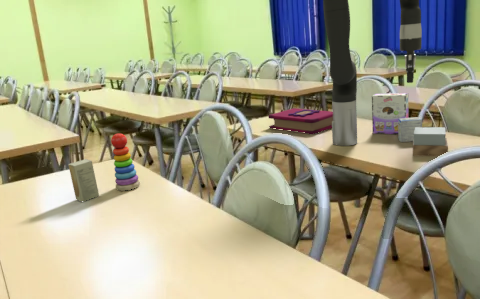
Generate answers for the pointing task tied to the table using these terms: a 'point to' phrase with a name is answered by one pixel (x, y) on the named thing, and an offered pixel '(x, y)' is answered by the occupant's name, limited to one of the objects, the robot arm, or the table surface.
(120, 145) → the stacking toy
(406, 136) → the medicine box
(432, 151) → the walnut base block
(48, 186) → the table surface
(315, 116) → the book
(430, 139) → the slate top block
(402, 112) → the candy box
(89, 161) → the skincare box
